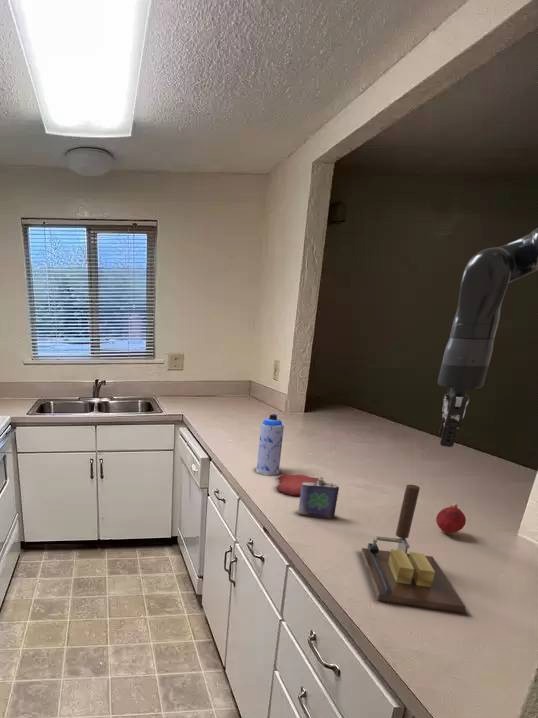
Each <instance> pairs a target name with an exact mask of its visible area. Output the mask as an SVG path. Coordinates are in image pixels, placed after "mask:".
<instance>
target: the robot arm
mask: <svg viewBox="0 0 538 718" xmlns="http://www.w3.org/2000/svg"><path fill="white" fill-rule="evenodd" d="M537 271H538V227H537V228H535V229H534V230H532V231H531V232H529V233H528V234H526V235H524V236H521V237H520V238H517V239H516V240H512V241H510V242H508V243H506V244H503V245H501V246H498V247H496V246H495V247H488V248H485V249H483V250H479V252H476V253H475V254H474V255H473V256H472V257H471V258H470V259H469V260H468V262H467V263H466V264H465V267H464V269H463V272H462V277H461V282H460V288H459V295H458V301H457V308H456V312H455V315H454V319H453V322H452V325H451V326H452V327H451V329H450V332H449V333H450V334H449V338H448V341H447V344H446V345H445V346H446V347H445V349H444V351H443V352H444V353H443V357H442V361H441V365H440V369H439V374H438V379H437V384H438V386H440V387H444V388H447V390H446V391H447V393H445V394H444V396H443V400H442V406H441V413H442V414H441V419H442V420H441V425H440V428H439V431H438V435H439V437H441V438H440V442H439V445H440V446H441V447H447V448H452V447H453V446H454V444H455V441H456V438H457V437H456V436H457V433H458V430H459V429H460V428H461V427H462V426H463V423H462V422H463V419H464V417H465V415H466V409H467V407H468V405H469V402H470V397H469V395H467V391H468V390H469V389H473V390H475V389H480V388H482V387H484V384H485V381H486V377H487V373H488V370H489V366H490V362H491V358H492V355H493V351H494V341H495V337H496V333H497V330H498V326H499V322H500V316H501V307H502V303H503V301H504V298H505V295H506V292H507V289H508V284H510V283H512V282H514V281H517V280H519V279H522V278H523V277H526V276H528V275H530V274H532V273H534V272H537Z"/></svg>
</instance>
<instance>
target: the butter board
mask: <svg viewBox="0 0 538 718" xmlns="http://www.w3.org/2000/svg"><path fill="white" fill-rule="evenodd" d="M360 555H361V557H362V560H363V563H364V566H365V568H366V571H367V575H368V577H369V579H370V582H371V586H372V588H373V590H374V594H375V596H376V599H377V601H381V602H386V603H387V602H388V603H393V604H400V605H406V606H414V607H420V608H426V609H433V610H440V611H446V612H453V613H459V614H464V612H465V609H466V605H465V604H464V603H463V601H462V599H461V598H460V596H459V595H458V593H457V592H456V590H455V588H454V587H453V585H452V584H451V583H450V581H449V579H448V578H447V577H446V575H445V573H444V572H443V570H442V569H441V567H440V566H439V564H438V562H437V561H436V560H435V558H434V557H433V556H431V555H425V554H424V553H421V552H413V551H409V553H407V554H406V553H405V551H397V549H390V551H389V550H382V549H379V552H378V553H372V552H370V551H369V548H368V547H367V548H366V547H362V548H361V551H360Z"/></svg>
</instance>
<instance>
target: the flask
mask: <svg viewBox="0 0 538 718" xmlns="http://www.w3.org/2000/svg"><path fill="white" fill-rule="evenodd" d="M323 479H324V477H323V476H320V477H318V481H317V483H303V484H302V488H301V496H299V502H298V503H299V504H298V511H297V513H298V515H302V516H304V517H307V516H309V517H317V518H318V517H320V518H328V519H333V518H335V514H336V509H337V501H338V495H339V490H340V487H339V486H338V485H337V484H335V483H332V482H326V481H325V480H323Z"/></svg>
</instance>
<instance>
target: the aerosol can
mask: <svg viewBox="0 0 538 718" xmlns="http://www.w3.org/2000/svg"><path fill="white" fill-rule="evenodd" d="M259 428H260V430H259V431H260V432H259V441H258V451H257V463H256V468H255V471H256V473H258V474H261V475H265V476H276V475H280V465H281V457H282V447H283V438H284V430H285V429H284V428H285V425H284V423H283V421H282V420H281V419H279V418H278V415H277V414H275V413H271V414H269V417H267V418H266V419H264V420H263V421H262V422H261V424H260V427H259Z"/></svg>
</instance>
